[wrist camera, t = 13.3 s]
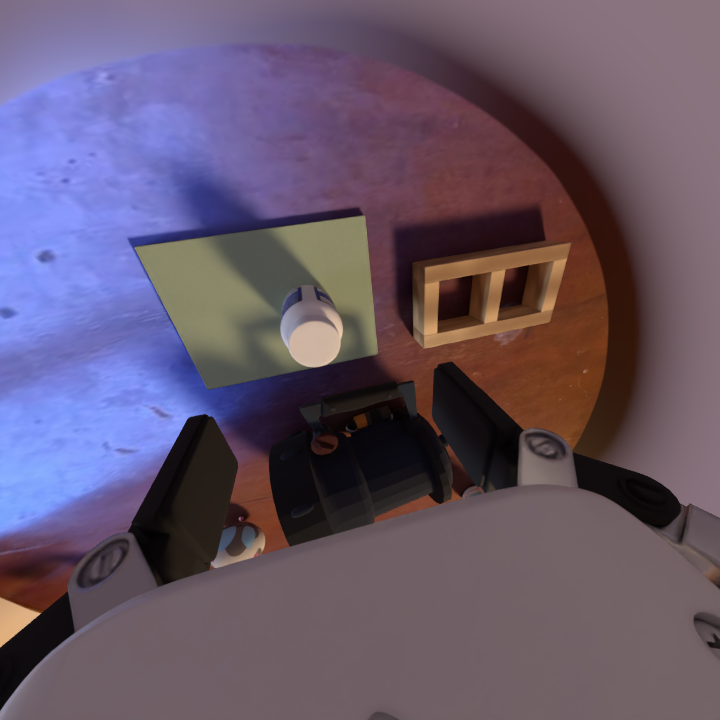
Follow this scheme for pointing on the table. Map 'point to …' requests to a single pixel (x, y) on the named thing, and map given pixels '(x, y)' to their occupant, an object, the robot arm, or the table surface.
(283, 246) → the mat
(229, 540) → the white rounded ceramic piece
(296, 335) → the pill bottle
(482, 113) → the table surface
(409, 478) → the flashlight
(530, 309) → the rack
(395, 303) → the table surface
